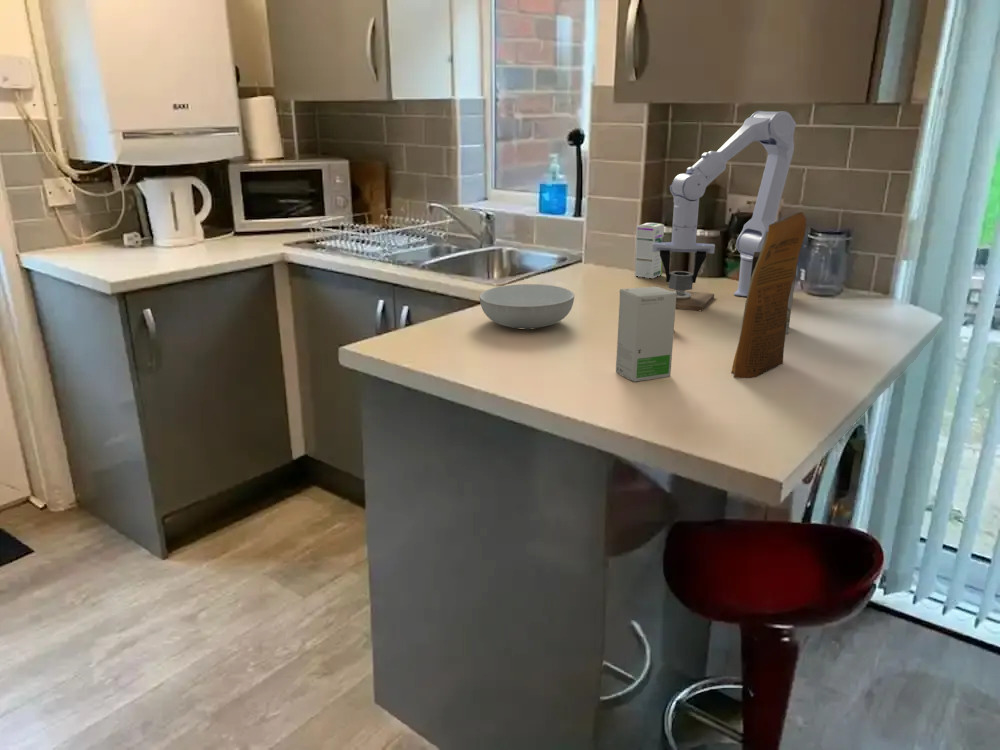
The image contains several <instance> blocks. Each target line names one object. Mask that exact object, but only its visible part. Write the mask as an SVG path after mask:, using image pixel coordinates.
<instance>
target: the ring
mask: <svg viewBox="0 0 1000 750" xmlns="http://www.w3.org/2000/svg"><path fill="white" fill-rule="evenodd" d="M693 284H694V283H693V272H690V271H684V270H683V271H682V270H674V271H669V282H668V285H667V286H668V289H669V290H685V291H690V290H693Z"/></svg>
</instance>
